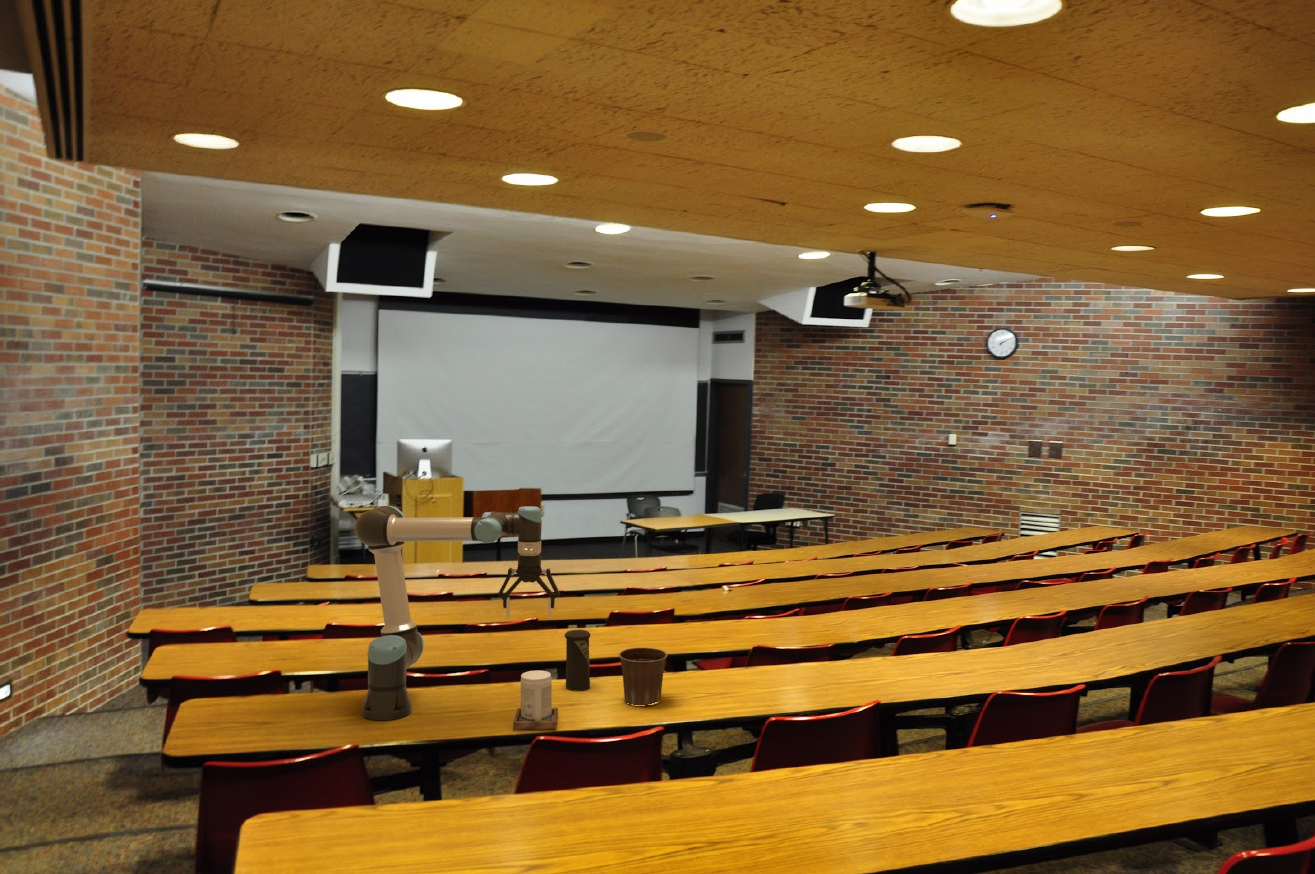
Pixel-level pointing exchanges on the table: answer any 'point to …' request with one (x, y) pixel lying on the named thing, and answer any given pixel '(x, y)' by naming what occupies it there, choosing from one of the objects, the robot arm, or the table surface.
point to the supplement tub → (536, 696)
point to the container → (577, 660)
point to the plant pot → (642, 674)
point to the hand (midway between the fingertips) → (528, 618)
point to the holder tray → (535, 722)
